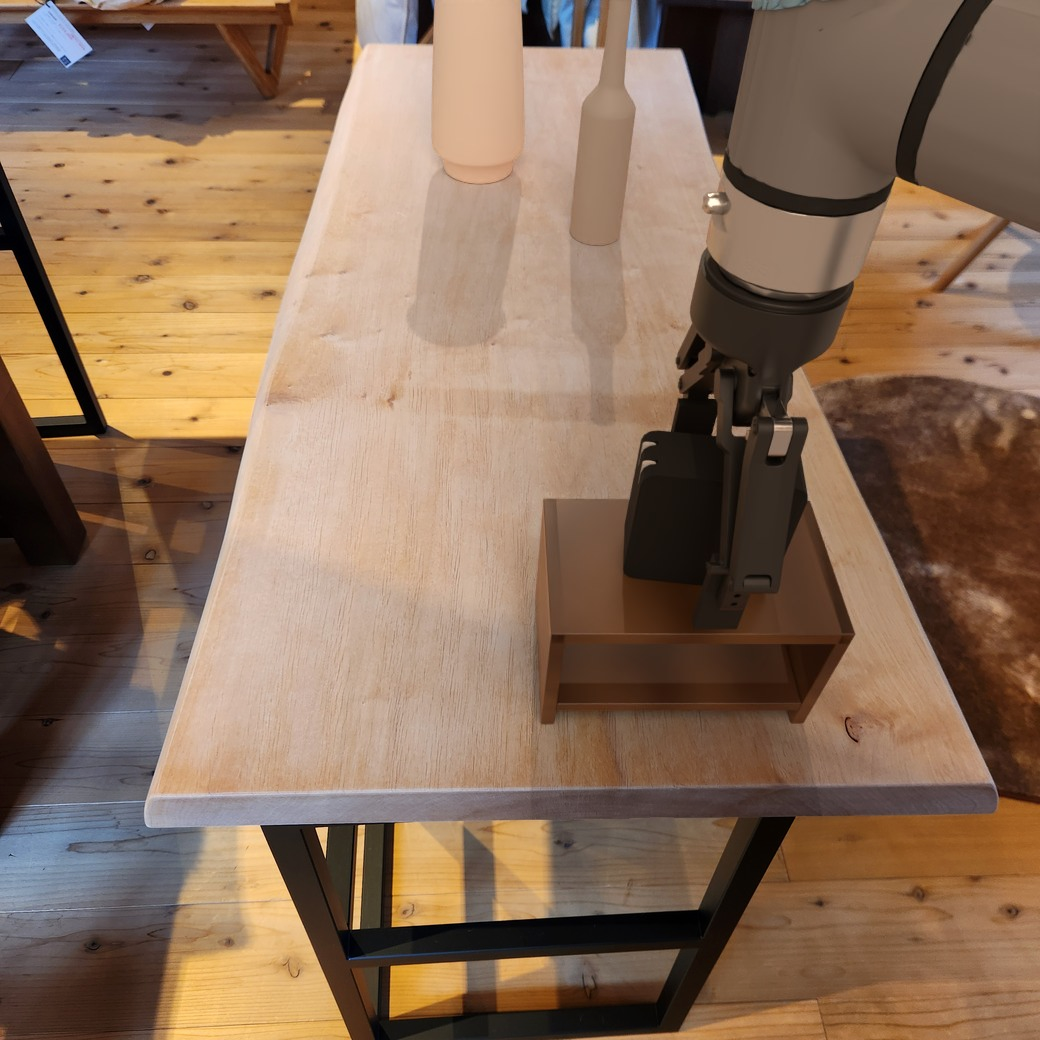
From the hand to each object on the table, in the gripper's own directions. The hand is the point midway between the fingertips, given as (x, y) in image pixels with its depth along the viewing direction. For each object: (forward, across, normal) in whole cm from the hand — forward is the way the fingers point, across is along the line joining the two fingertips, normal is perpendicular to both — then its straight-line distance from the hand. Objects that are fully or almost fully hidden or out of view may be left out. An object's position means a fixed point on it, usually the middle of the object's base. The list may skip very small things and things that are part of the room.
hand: (696, 541), depth 57 cm
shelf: (+14, 0, 0) cm, 14 cm away
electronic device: (+2, 0, 0) cm, 2 cm away
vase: (+14, -82, -16) cm, 85 cm away
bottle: (+14, -65, 0) cm, 67 cm away
